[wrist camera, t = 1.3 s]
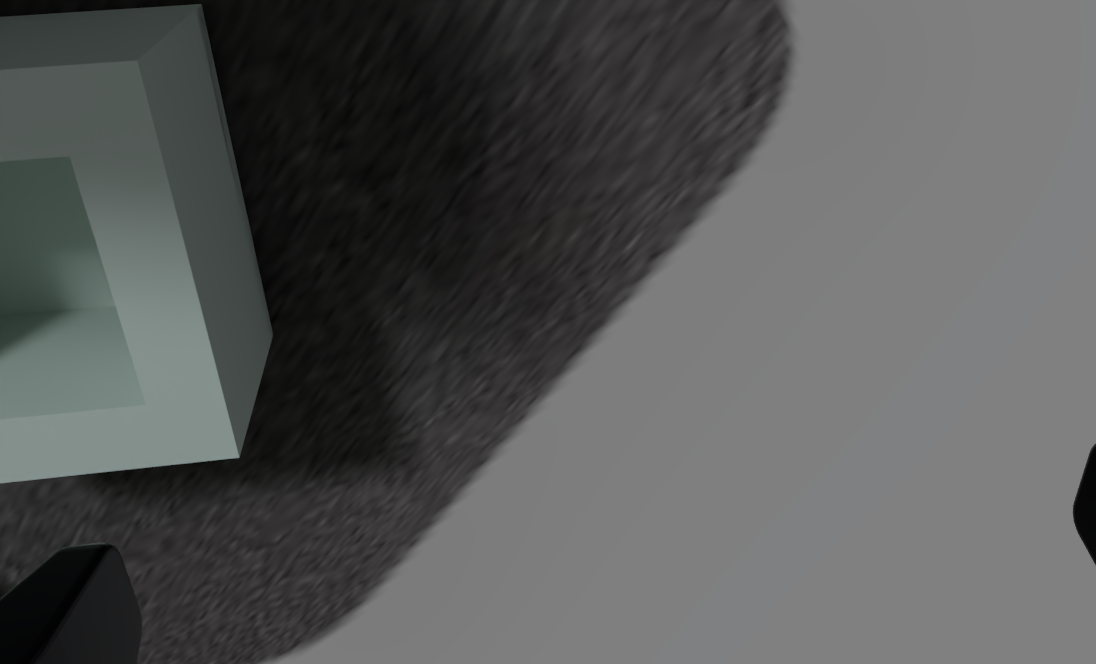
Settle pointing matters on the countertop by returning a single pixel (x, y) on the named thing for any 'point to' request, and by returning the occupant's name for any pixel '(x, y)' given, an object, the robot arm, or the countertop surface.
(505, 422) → the countertop surface
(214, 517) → the countertop surface
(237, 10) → the countertop surface
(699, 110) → the countertop surface
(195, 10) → the collar block
